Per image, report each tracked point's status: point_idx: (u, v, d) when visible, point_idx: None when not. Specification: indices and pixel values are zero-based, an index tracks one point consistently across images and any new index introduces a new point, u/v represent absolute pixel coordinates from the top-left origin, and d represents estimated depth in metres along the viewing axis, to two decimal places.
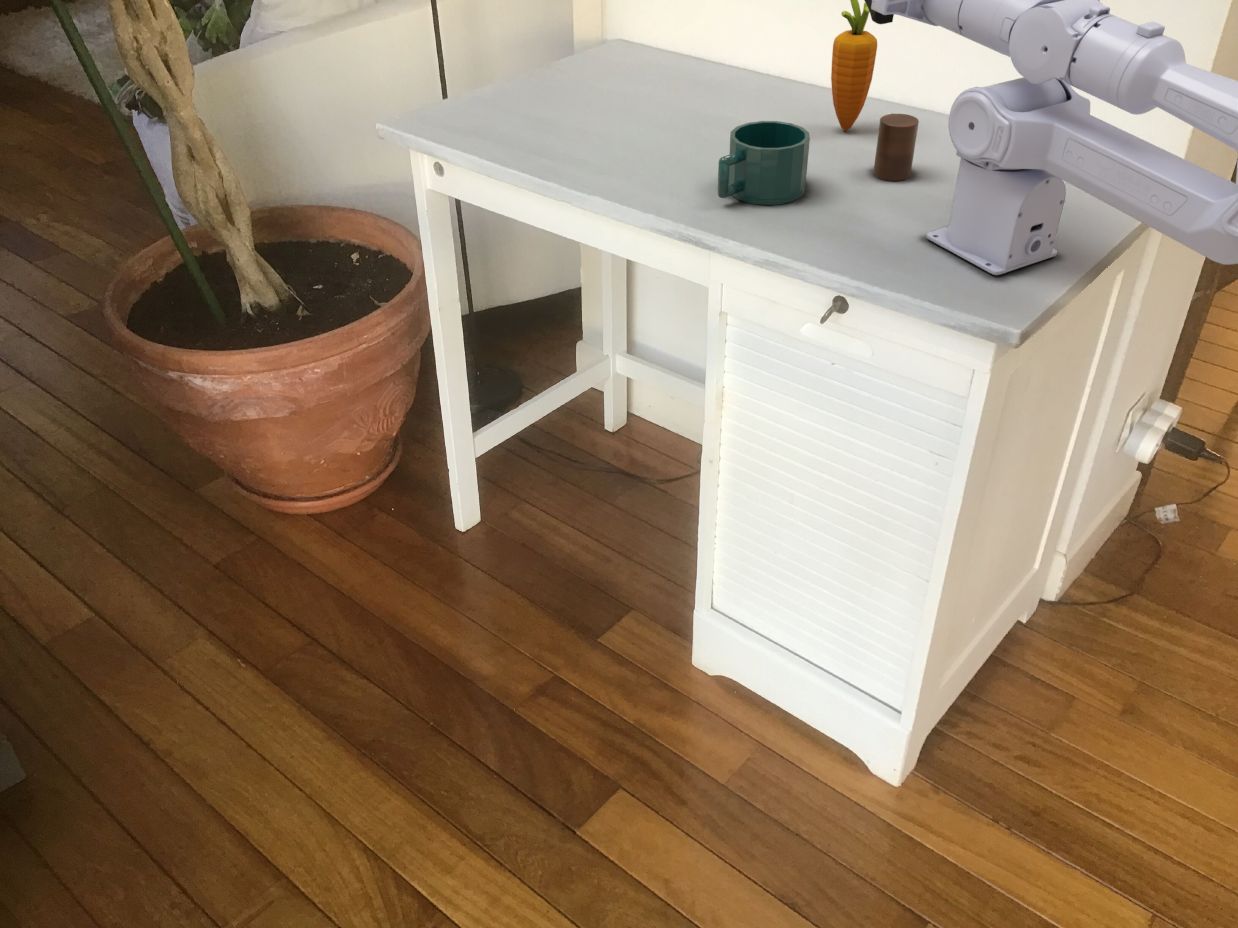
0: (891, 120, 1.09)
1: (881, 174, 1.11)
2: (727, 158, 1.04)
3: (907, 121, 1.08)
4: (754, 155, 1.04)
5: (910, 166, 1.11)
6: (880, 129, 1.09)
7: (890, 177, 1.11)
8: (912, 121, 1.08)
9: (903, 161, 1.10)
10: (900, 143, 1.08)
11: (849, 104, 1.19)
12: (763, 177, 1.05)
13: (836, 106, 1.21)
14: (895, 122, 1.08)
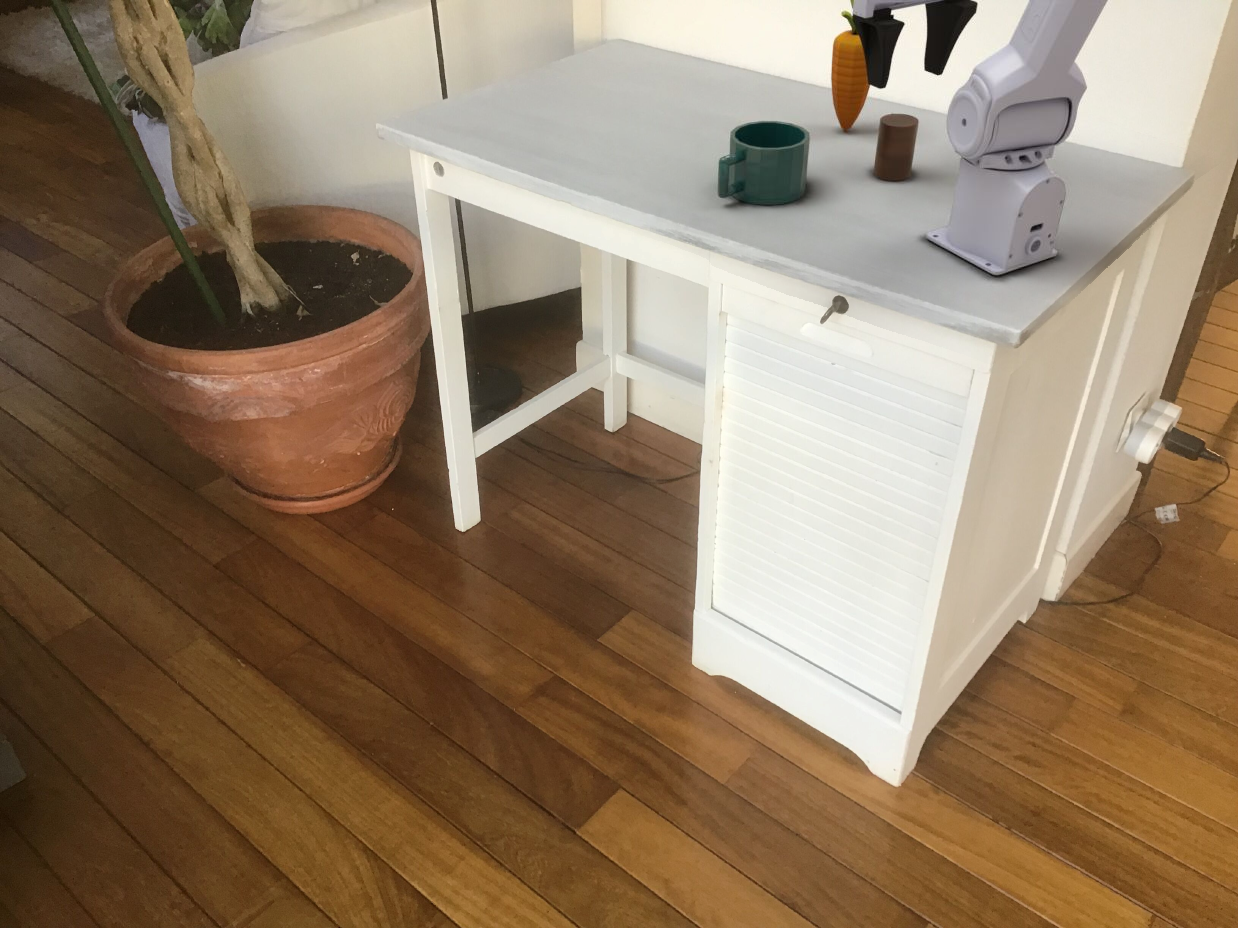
0: (891, 120, 1.09)
1: (881, 174, 1.11)
2: (727, 158, 1.04)
3: (907, 121, 1.08)
4: (754, 155, 1.04)
5: (910, 166, 1.11)
6: (880, 129, 1.09)
7: (890, 177, 1.11)
8: (912, 121, 1.08)
9: (903, 161, 1.10)
10: (900, 143, 1.08)
11: (849, 104, 1.19)
12: (763, 177, 1.05)
13: (836, 106, 1.21)
14: (895, 122, 1.08)
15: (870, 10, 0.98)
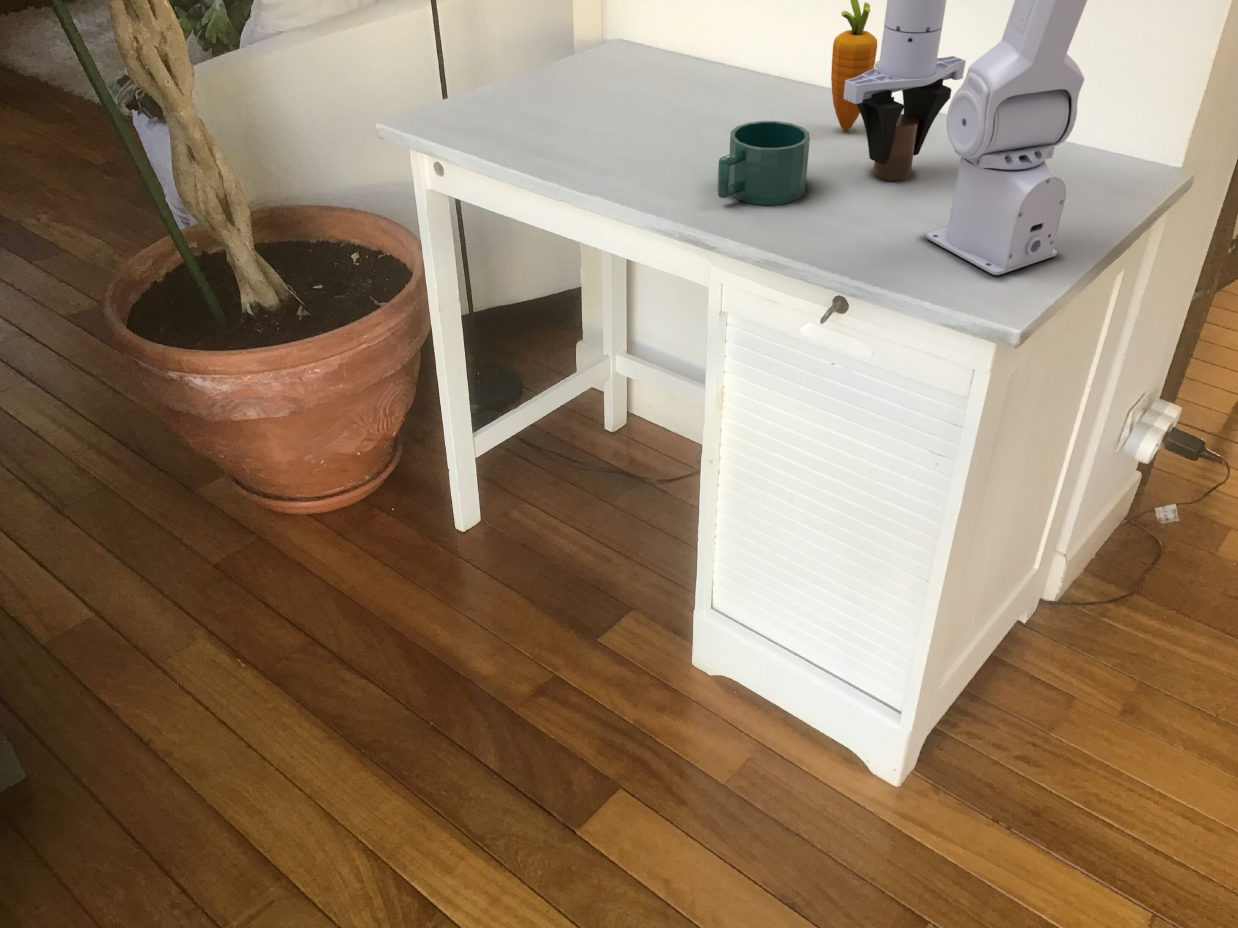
0: None
1: (881, 174, 1.11)
2: (727, 158, 1.04)
3: (907, 121, 1.08)
4: (754, 155, 1.04)
5: (910, 166, 1.11)
6: None
7: (890, 177, 1.11)
8: (912, 121, 1.08)
9: (903, 161, 1.10)
10: (900, 143, 1.08)
11: (849, 104, 1.19)
12: (763, 177, 1.05)
13: (836, 106, 1.21)
14: None
15: (860, 97, 1.03)
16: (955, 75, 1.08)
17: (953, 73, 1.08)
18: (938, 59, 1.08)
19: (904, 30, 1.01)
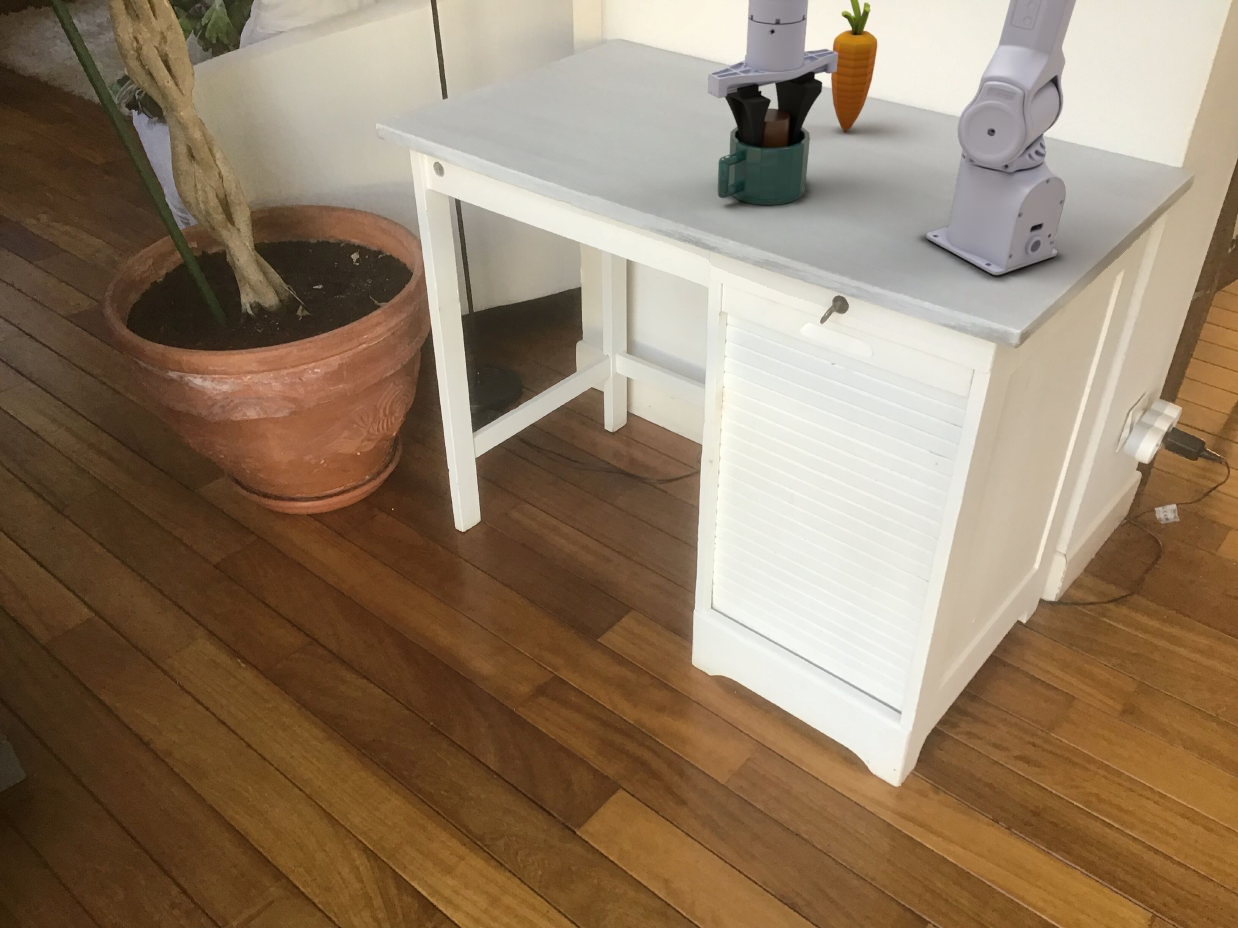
0: None
1: None
2: (727, 158, 1.04)
3: (778, 116, 1.05)
4: (754, 155, 1.04)
5: None
6: None
7: None
8: (783, 116, 1.05)
9: None
10: (770, 139, 1.05)
11: (849, 104, 1.19)
12: (763, 177, 1.05)
13: (836, 106, 1.21)
14: (765, 117, 1.05)
15: (723, 90, 1.00)
16: (828, 68, 1.05)
17: (826, 66, 1.05)
18: (810, 52, 1.05)
19: (784, 22, 0.97)
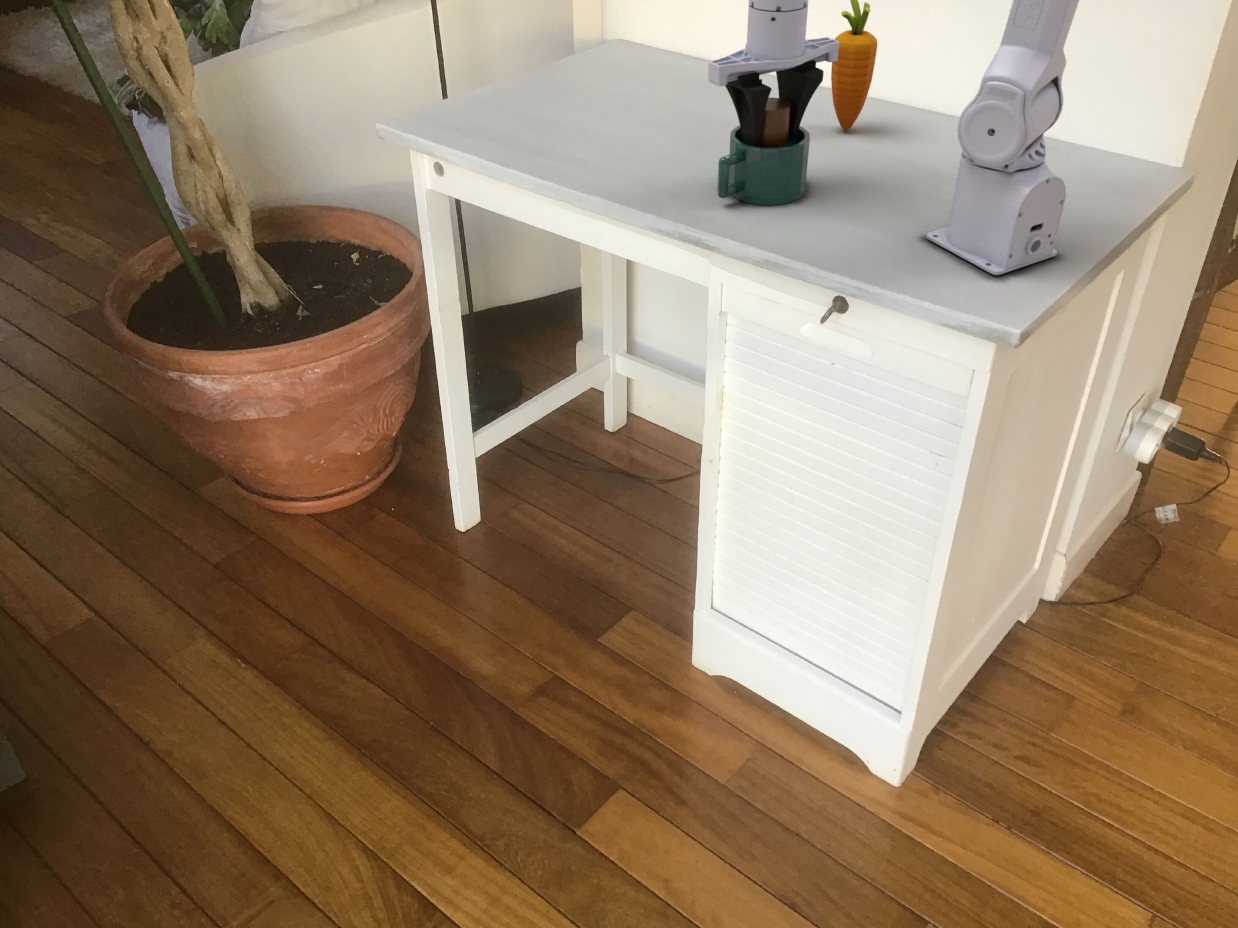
0: None
1: None
2: (727, 158, 1.04)
3: (779, 105, 1.04)
4: (754, 155, 1.04)
5: None
6: None
7: None
8: (784, 105, 1.04)
9: (776, 147, 1.05)
10: (771, 128, 1.04)
11: (849, 104, 1.19)
12: (763, 177, 1.05)
13: (836, 106, 1.21)
14: (766, 106, 1.04)
15: (723, 78, 0.99)
16: (829, 57, 1.04)
17: (827, 55, 1.04)
18: (811, 40, 1.04)
19: (785, 9, 0.96)
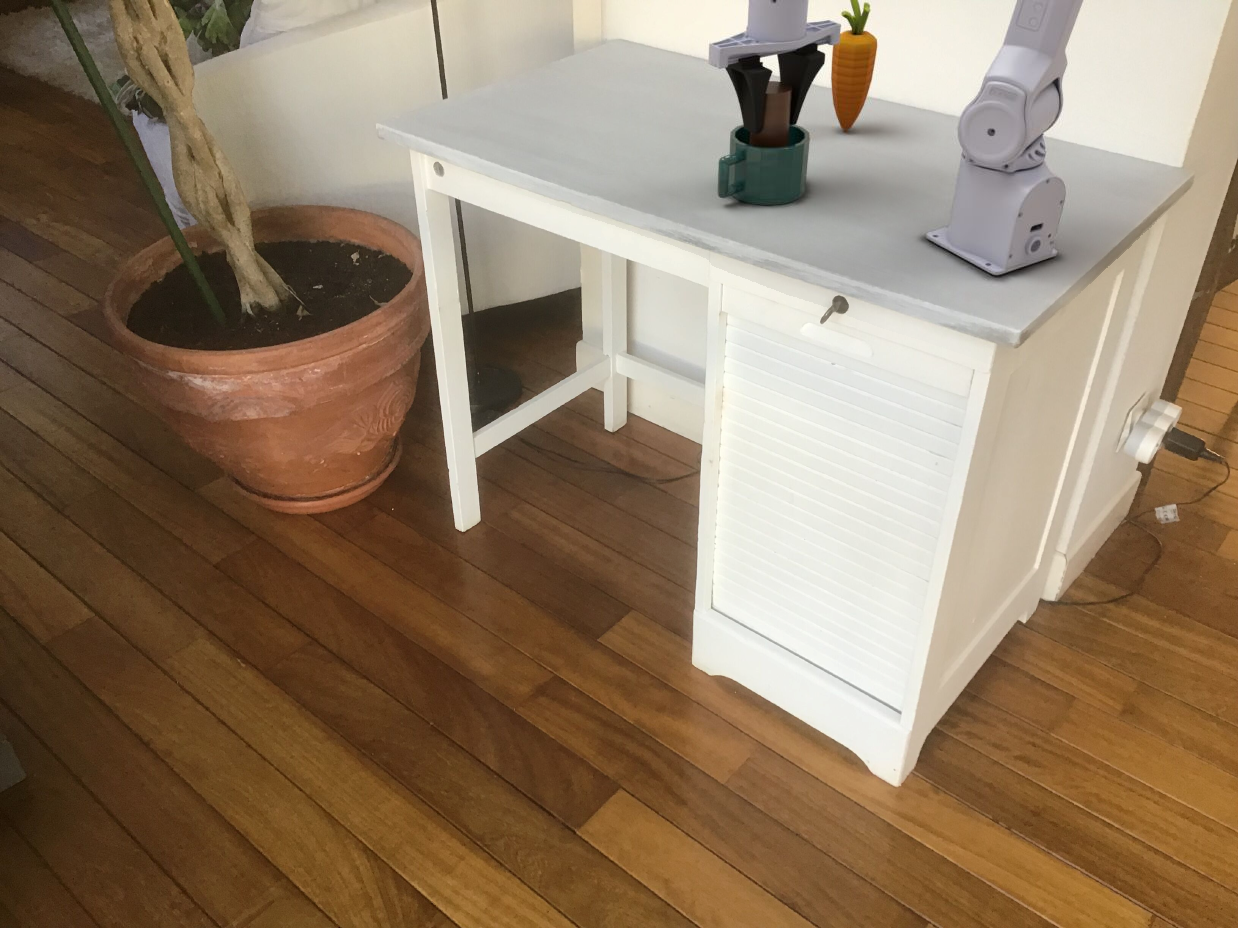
0: None
1: (756, 145, 1.06)
2: (727, 158, 1.04)
3: (780, 89, 1.03)
4: (754, 155, 1.04)
5: (786, 136, 1.06)
6: None
7: None
8: (785, 88, 1.03)
9: (777, 131, 1.04)
10: (772, 111, 1.03)
11: (849, 104, 1.19)
12: (763, 177, 1.05)
13: (836, 106, 1.21)
14: (767, 90, 1.03)
15: (724, 61, 0.98)
16: (830, 40, 1.03)
17: (828, 38, 1.03)
18: (813, 23, 1.03)
19: None
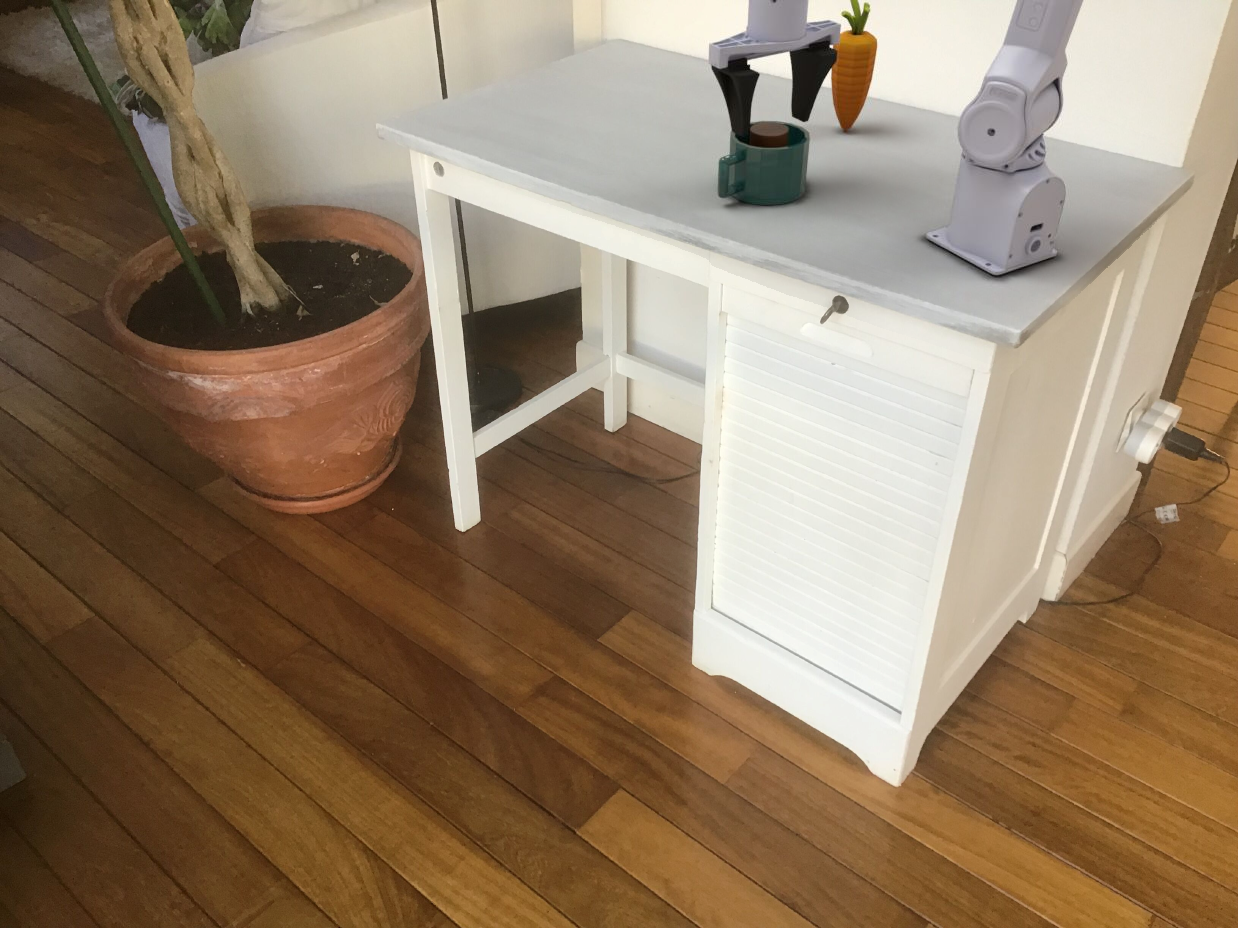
0: (761, 129, 1.06)
1: None
2: (727, 158, 1.04)
3: (777, 130, 1.06)
4: (754, 155, 1.04)
5: None
6: (750, 138, 1.07)
7: None
8: (782, 130, 1.06)
9: None
10: None
11: (849, 104, 1.19)
12: (763, 177, 1.05)
13: (836, 106, 1.21)
14: (764, 131, 1.06)
15: (724, 61, 0.98)
16: (830, 40, 1.03)
17: (828, 38, 1.03)
18: (813, 23, 1.03)
19: None
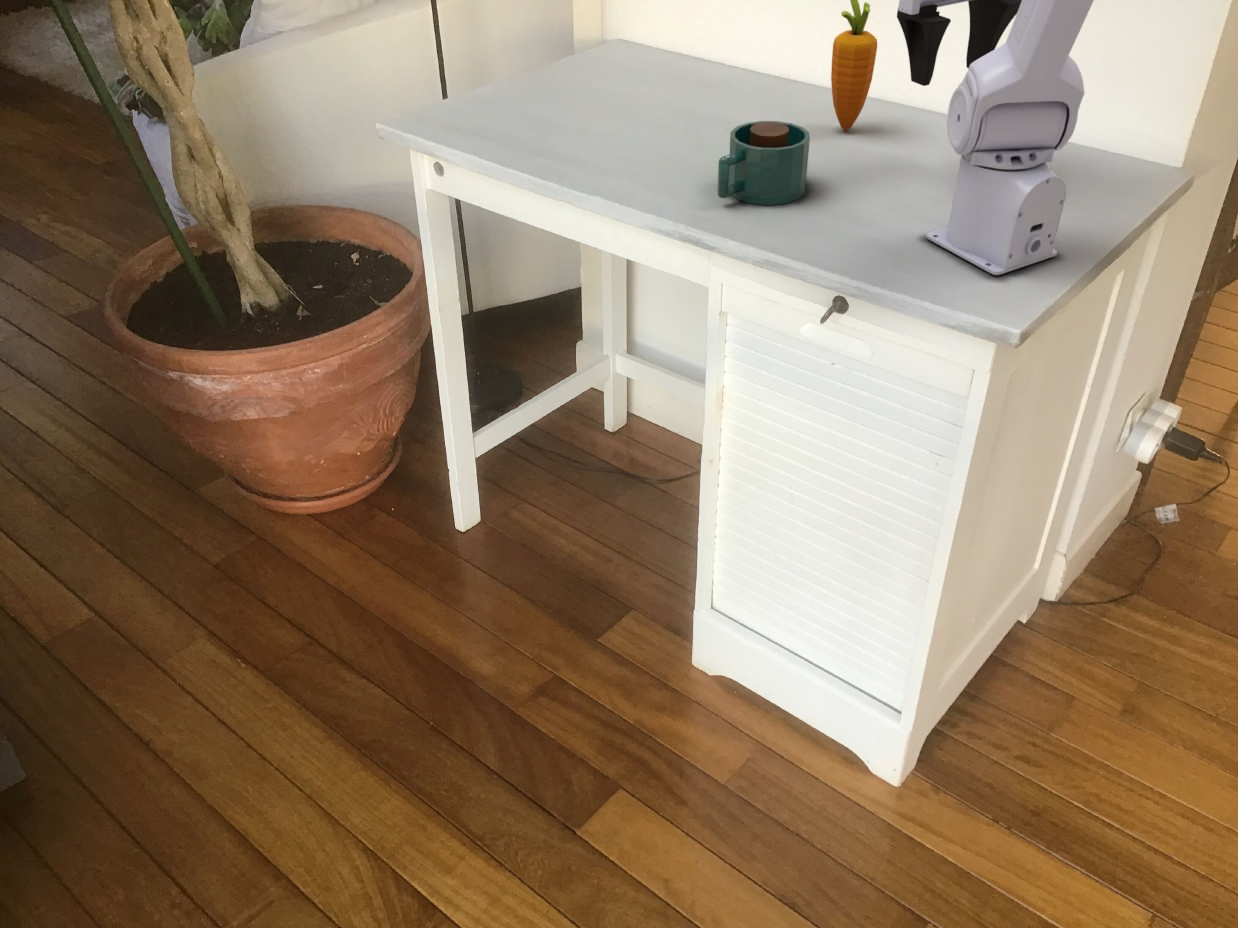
0: (761, 129, 1.06)
1: None
2: (727, 158, 1.04)
3: (777, 130, 1.06)
4: (754, 155, 1.04)
5: None
6: (750, 138, 1.07)
7: None
8: (782, 130, 1.06)
9: None
10: None
11: (849, 104, 1.19)
12: (763, 177, 1.05)
13: (836, 106, 1.21)
14: (764, 131, 1.06)
15: (916, 7, 0.98)
16: None
17: None
18: None
19: None
